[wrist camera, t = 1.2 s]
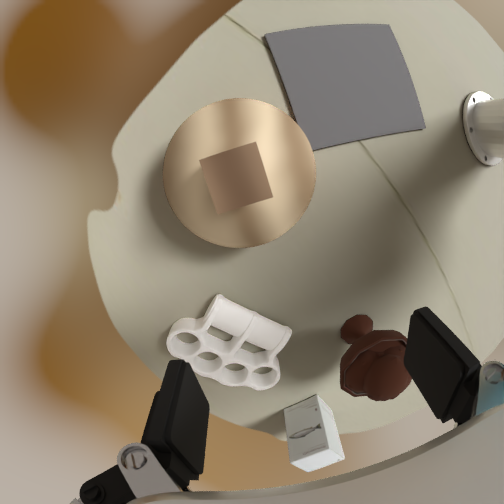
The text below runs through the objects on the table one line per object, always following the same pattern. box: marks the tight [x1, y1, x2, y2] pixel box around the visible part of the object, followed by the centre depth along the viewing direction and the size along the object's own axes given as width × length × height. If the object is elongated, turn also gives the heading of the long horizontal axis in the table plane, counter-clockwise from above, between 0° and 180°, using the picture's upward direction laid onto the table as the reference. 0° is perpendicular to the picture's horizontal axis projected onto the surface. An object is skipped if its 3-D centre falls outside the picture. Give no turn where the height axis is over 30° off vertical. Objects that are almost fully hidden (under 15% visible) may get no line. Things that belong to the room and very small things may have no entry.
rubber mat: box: [265, 24, 426, 150], centre depth 26 cm, size 18×16×1 cm
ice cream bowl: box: [340, 315, 412, 401], centre depth 32 cm, size 11×11×15 cm
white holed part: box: [166, 294, 292, 390], centre depth 38 cm, size 3×18×15 cm
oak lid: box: [163, 98, 316, 248], centre depth 23 cm, size 15×15×7 cm
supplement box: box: [284, 394, 345, 472], centre depth 39 cm, size 7×7×13 cm
